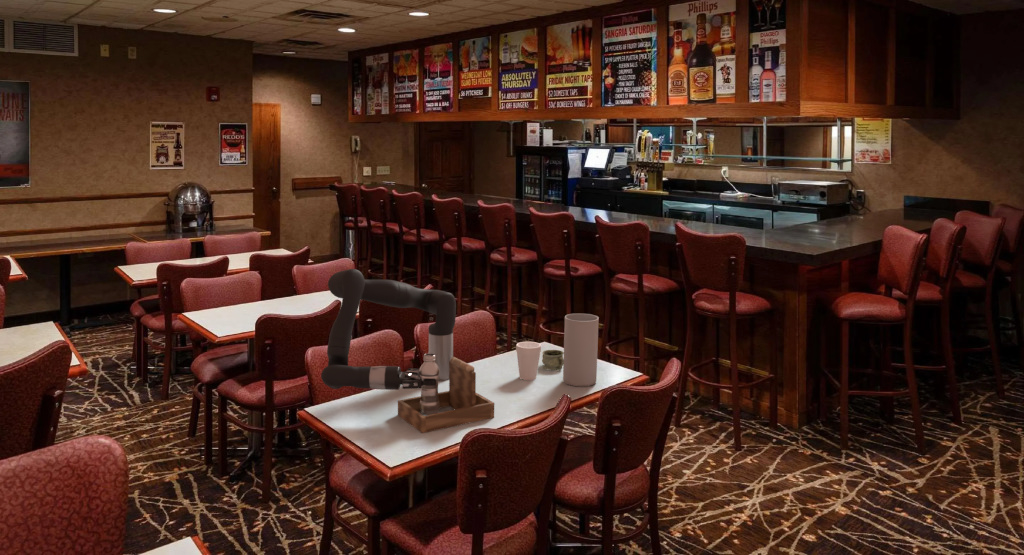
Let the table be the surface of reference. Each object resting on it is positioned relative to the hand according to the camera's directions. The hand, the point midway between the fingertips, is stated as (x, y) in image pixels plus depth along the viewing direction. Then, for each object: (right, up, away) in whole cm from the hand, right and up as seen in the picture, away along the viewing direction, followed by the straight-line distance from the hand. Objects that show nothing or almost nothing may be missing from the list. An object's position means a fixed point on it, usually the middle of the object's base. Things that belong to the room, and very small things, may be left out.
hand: (437, 378), depth 242 cm
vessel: (+40, -4, +58) cm, 71 cm away
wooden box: (+3, -13, +3) cm, 13 cm away
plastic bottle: (-3, -12, +2) cm, 12 cm away
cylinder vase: (+50, -7, +40) cm, 64 cm away
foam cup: (+30, -6, +44) cm, 54 cm away
